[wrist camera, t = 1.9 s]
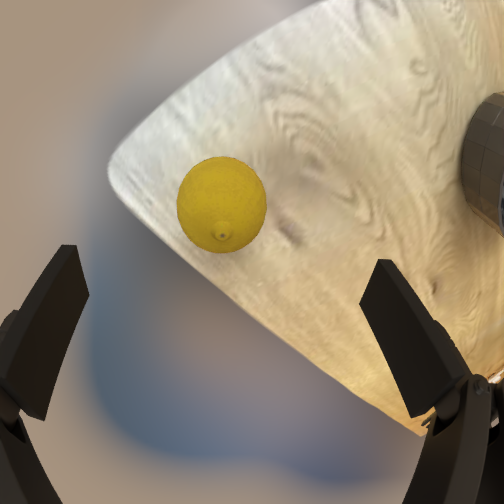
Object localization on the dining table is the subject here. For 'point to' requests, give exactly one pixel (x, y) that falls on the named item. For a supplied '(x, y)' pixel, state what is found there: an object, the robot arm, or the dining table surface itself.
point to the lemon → (221, 204)
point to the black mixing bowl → (486, 162)
